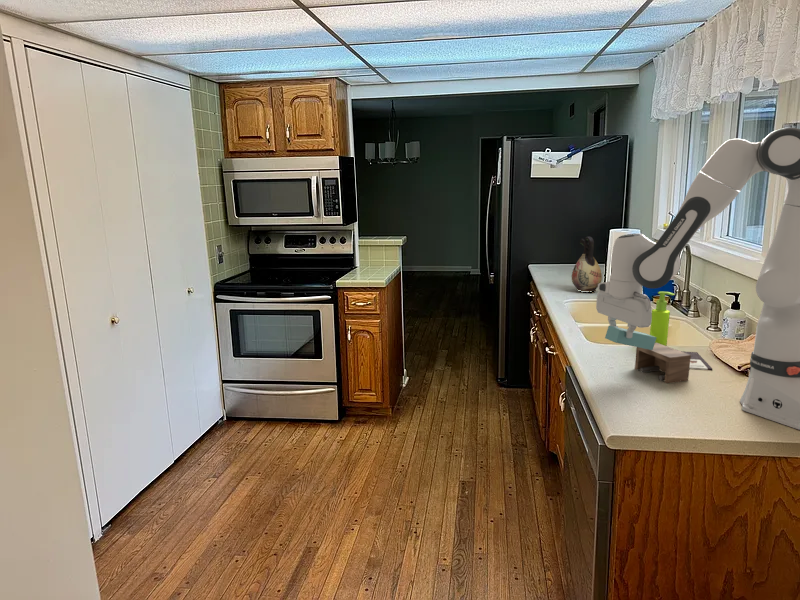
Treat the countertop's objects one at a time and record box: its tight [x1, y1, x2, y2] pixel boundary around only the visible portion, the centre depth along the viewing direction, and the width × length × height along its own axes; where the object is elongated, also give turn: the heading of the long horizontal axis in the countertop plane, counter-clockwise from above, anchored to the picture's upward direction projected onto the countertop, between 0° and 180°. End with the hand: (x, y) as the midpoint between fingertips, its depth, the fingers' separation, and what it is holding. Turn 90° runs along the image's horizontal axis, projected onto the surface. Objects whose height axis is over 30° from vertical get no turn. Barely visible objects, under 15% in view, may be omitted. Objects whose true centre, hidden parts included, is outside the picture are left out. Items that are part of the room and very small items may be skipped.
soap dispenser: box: [649, 291, 676, 347], centre depth 205 cm, size 6×7×20 cm
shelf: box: [634, 343, 691, 384], centre depth 176 cm, size 14×8×8 cm, turn 18°
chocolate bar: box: [680, 350, 713, 371], centre depth 191 cm, size 9×1×18 cm
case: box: [604, 325, 657, 350], centre depth 171 cm, size 14×5×4 cm, turn 109°
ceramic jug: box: [571, 236, 603, 292], centre depth 302 cm, size 17×15×30 cm
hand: (620, 334), depth 170 cm, fingers closed on case, 5 cm apart
